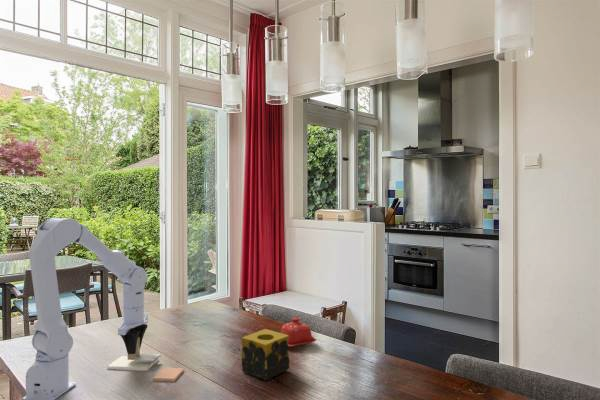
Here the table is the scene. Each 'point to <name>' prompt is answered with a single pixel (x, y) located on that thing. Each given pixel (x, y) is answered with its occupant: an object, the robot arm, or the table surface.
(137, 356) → the grey plate tan block
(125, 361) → the trivet
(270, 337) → the candle
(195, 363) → the table surface
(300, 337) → the butter dish
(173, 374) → the tile
